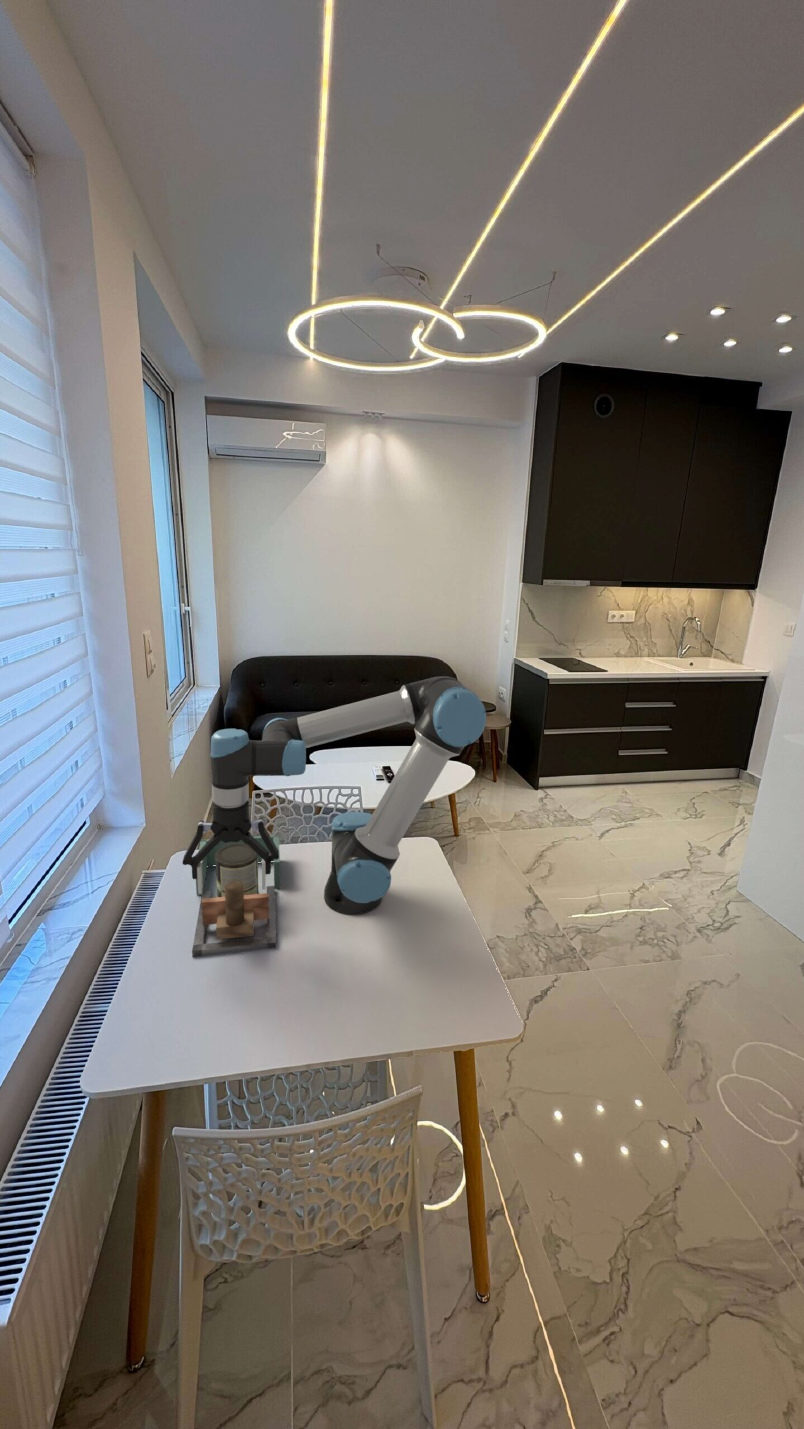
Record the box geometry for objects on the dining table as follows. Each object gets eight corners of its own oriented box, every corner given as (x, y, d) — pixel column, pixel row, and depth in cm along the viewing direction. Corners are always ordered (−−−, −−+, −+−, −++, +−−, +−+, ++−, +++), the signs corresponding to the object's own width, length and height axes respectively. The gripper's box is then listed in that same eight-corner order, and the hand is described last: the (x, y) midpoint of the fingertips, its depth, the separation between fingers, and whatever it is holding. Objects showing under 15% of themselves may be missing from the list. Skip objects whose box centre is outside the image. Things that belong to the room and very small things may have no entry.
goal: (278, 860, 169) (278, 835, 166) (280, 888, 155) (279, 861, 153) (202, 865, 164) (200, 839, 162) (196, 895, 150) (195, 867, 148)
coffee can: (208, 904, 147) (205, 854, 143) (241, 886, 155) (239, 838, 151) (235, 920, 141) (233, 868, 137) (267, 901, 149) (267, 851, 145)
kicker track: (274, 890, 154) (274, 885, 154) (276, 948, 132) (276, 942, 132) (202, 896, 150) (202, 891, 149) (192, 956, 128) (192, 950, 128)
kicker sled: (269, 914, 141) (268, 870, 137) (269, 934, 134) (268, 888, 131) (203, 920, 137) (201, 875, 134) (200, 940, 130) (197, 893, 127)
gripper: (289, 791, 131) (288, 875, 137) (171, 795, 126) (175, 882, 131) (290, 806, 124) (290, 893, 130) (165, 811, 119) (170, 902, 124)
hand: (232, 888), depth 131 cm, fingers open, 13 cm apart
